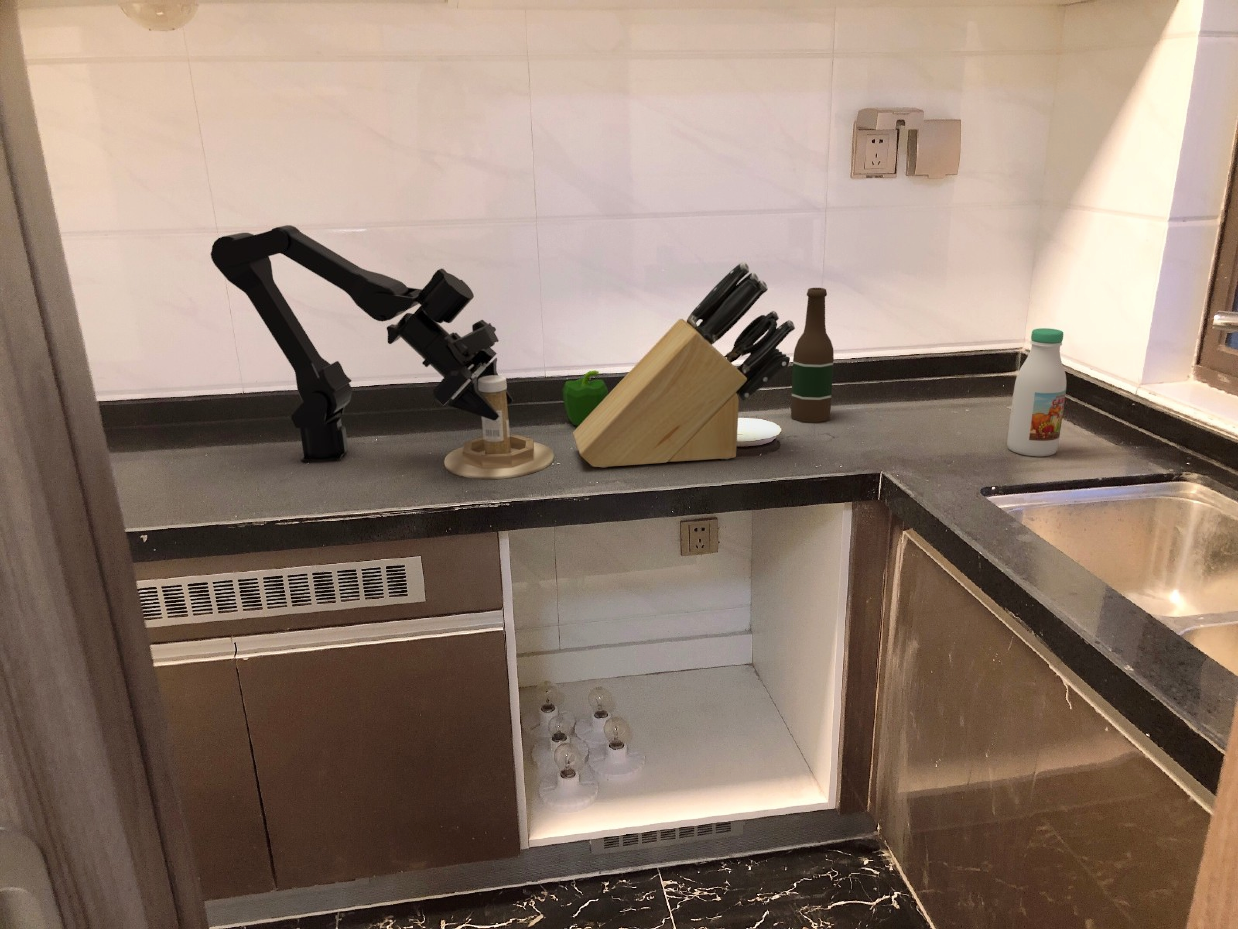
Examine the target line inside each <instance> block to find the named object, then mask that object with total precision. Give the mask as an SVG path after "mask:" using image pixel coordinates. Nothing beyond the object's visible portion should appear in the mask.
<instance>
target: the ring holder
mask: <svg viewBox="0 0 1238 929" xmlns="http://www.w3.org/2000/svg"><path fill="white" fill-rule="evenodd" d="M510 448H511V452H512V453H509V454H489V455H485V447H484V439H483V436H480V437H477V438H475V439H472V440H468V441H465V442H464V444H463V446H461V447H459V448H458V447H457V448H456V449H453V450H452V451H451V452H449V453H448V454H447V455H446V456H445V457H444V467H445V469H446V470H447V471H448V472H450V473H451V474H454V475H457V476H460V477H462V476H463V477H462V478H467V479H468V478H469V479H476V480H477V479H478V480H502V479H503V480H504V479H512V478H519V477H522V476H527V475H528V476H529V475H532V474H534V473H535V474H536V473H537V472H540V471H542V470H544V469H546V468H547V467H549V466H551V464H552V463H553V462H554V457H555V456H554V455H555V454H554V451H553V450H552V449H551V448H550V447H549V446H547V445H544V444H542V443H540V442H539V443H538V442H535V441H534V439H532V438H530V437H529V438H528V437H526V436H522V435H518V434H510Z"/></svg>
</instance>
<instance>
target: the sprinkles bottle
mask: <svg viewBox="0 0 1238 929" xmlns="http://www.w3.org/2000/svg"><path fill="white" fill-rule="evenodd" d="M507 388H508V384H507V378H506V376H503V375H499V374H498V375H491V376H484V377H481V378H479V379H478V389H479V391H480V392H481V394H482V395H483V396H484V397H485V398H486V400H487V401H488V402H489V403H490V404H491V406H492V407H493V408H494V409H495V411H496V412H497V413H498V415H499V417H498V418H497V419H496V420H495V421H494V420H491V419H488V418H485V417H482V416H480V417H481V428H482V437H483V439H484V447H485V455H489V454H509V453H512V452H511V448H510V421H509V413H508V404H507V399H506V389H507ZM507 390H508V389H507Z"/></svg>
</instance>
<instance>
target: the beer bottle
mask: <svg viewBox="0 0 1238 929" xmlns="http://www.w3.org/2000/svg"><path fill="white" fill-rule="evenodd" d="M806 296H807V305H806V306H807V307H806V313H805V323H804V324H805V325H804V329H803V332H802V334H801V335H800V337H799V338H798V339H797V342H796V344H795V347H794V349H793V350H794V351H793V357H792V375H791V379H792V380H791V398H790V417H791V419H792V420H794V421H796V422H800V423H808V424H809V423H810V424H811V423H812V424H819V423H824V422H828V421H829V420H830V417H831V410H832V409H831V408H832V393H833V390H832V389H833V377H834V373H833V372H834V360H835V359H834V357H835V356H834V355H835V354H834V352H835V351H834V347H833V344H832V343H833V342H832V339H831V338H830V337H829V335H828V334H827V329H826V297H827V296H828V293H827V289H826V288H825V287H809V288H808V289H807V291H806Z"/></svg>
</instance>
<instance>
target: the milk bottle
mask: <svg viewBox="0 0 1238 929" xmlns="http://www.w3.org/2000/svg"><path fill="white" fill-rule="evenodd" d="M1063 339H1064V332H1063V331H1062V330H1060V329H1055V328H1049V327H1048V328H1047V327H1045V328H1041V327H1040V328H1034V329H1032V331H1031V336H1030V340H1031V341H1030V344H1031V348H1030V351H1029V353H1028V355H1027V357H1026V359H1025V360H1024V362H1023V364H1022V366H1020V368H1019V371H1018V373H1017V374H1016V379H1015V381H1014V382H1015V383H1014V387H1013V388H1014V389H1013V395H1012V401H1011V409H1010V416H1009V422H1008V424H1009V425H1008V433H1007V440H1006V442H1007V443H1006V445H1007V446H1006V447H1007V448H1008V450H1009V451H1011V452H1013V453H1016V454H1019V455H1022V456H1028V457H1048V456H1049V457H1050V456H1053V455H1055V454H1056V453H1057V451H1058V448H1059V444H1060V443H1059V442H1060V435H1061V428H1062V423H1063V422H1062V421H1063V417H1064V416H1063V414H1064V408H1065V400H1066V393H1067V375H1066V371H1065V367H1064V365H1063V362H1062V357H1061V352H1060V350H1061V346H1062V345H1063Z"/></svg>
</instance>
